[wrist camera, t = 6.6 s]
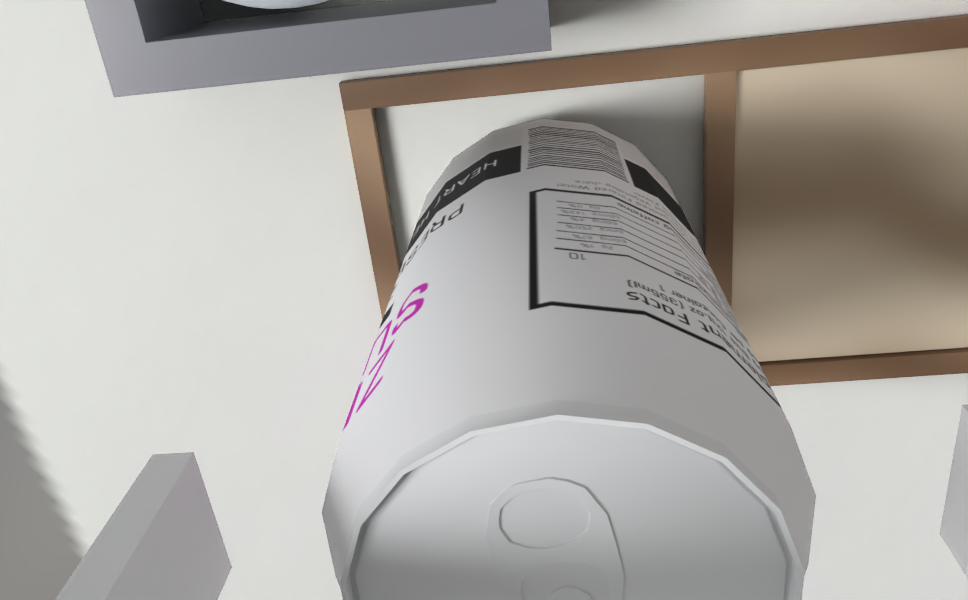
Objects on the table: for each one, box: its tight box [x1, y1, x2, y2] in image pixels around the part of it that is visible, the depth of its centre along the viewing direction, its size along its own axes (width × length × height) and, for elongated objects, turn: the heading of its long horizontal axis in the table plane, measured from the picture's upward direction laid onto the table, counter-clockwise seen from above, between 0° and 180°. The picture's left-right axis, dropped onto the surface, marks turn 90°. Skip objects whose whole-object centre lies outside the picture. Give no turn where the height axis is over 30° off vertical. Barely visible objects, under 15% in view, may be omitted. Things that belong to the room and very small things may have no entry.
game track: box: [339, 15, 968, 386], centre depth 25 cm, size 11×32×1 cm, turn 96°
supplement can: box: [322, 119, 816, 600], centre depth 19 cm, size 8×8×15 cm
